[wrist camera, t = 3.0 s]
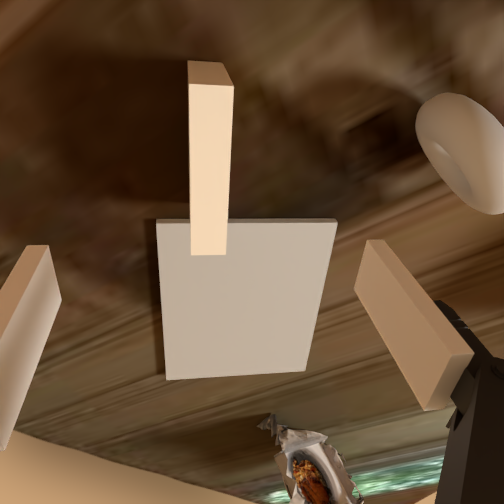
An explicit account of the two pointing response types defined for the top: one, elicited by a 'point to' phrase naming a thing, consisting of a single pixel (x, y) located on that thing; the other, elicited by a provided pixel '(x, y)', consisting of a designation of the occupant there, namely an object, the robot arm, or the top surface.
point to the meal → (310, 467)
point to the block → (209, 155)
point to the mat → (242, 296)
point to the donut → (464, 149)
